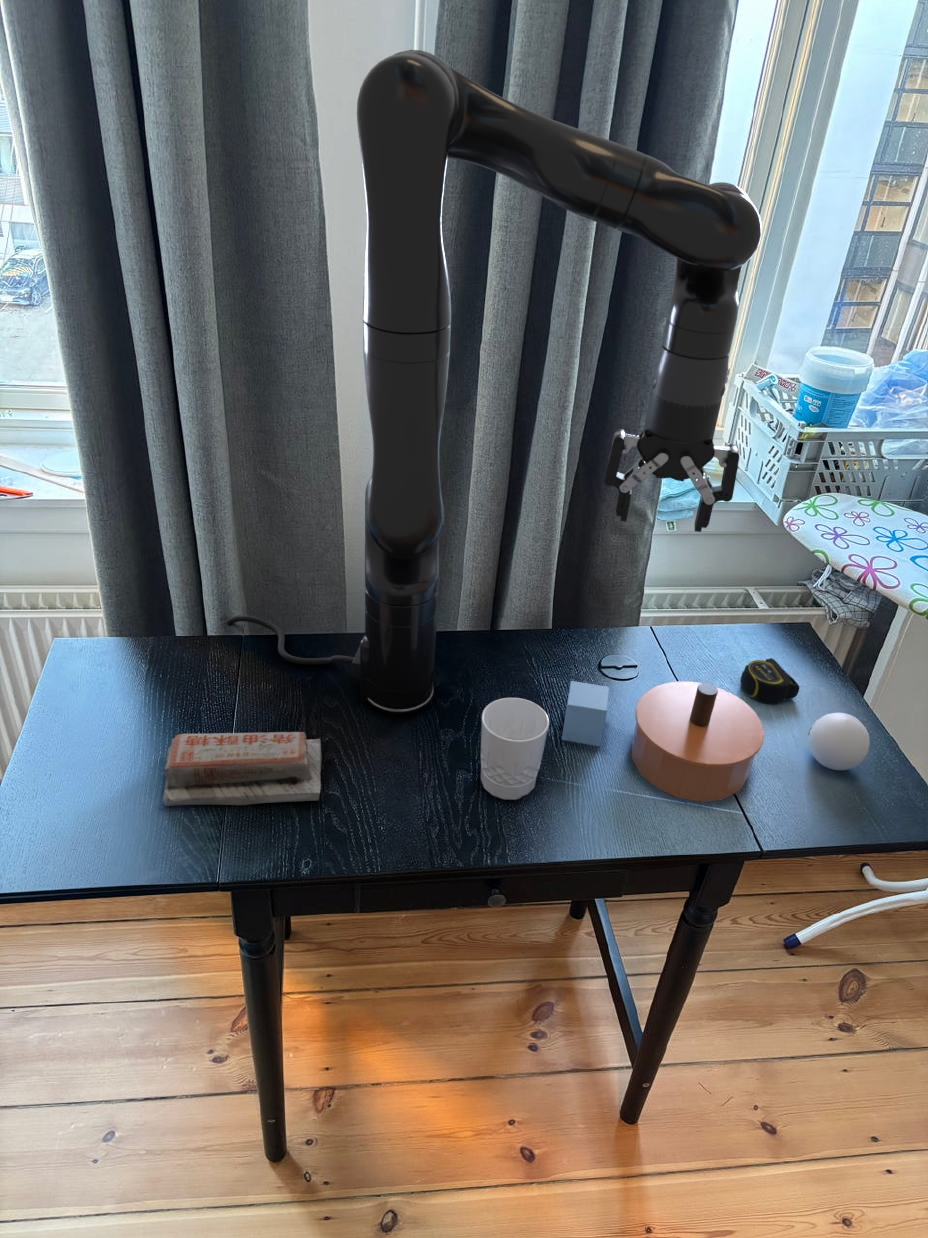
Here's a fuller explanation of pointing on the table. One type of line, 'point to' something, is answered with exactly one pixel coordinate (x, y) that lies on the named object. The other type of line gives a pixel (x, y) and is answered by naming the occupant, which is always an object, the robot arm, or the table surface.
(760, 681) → the tape measure
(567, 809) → the table surface
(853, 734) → the white oval ball
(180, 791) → the packaged product
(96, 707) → the table surface
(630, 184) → the robot arm
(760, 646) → the table surface
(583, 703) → the block
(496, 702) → the white cup
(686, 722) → the lid
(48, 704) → the table surface
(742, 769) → the orange round container
